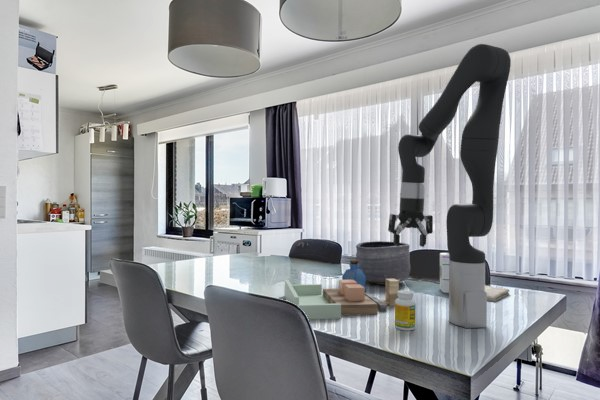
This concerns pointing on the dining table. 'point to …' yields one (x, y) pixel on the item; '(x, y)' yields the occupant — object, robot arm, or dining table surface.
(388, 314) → the dining table surface
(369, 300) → the block
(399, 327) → the supplement bottle
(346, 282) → the tile
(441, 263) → the syrup box
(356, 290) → the peach block
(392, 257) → the tea bowl
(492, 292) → the washcloth
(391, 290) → the scraper
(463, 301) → the robot arm
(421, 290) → the dining table surface
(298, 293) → the tray
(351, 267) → the perfume bottle
